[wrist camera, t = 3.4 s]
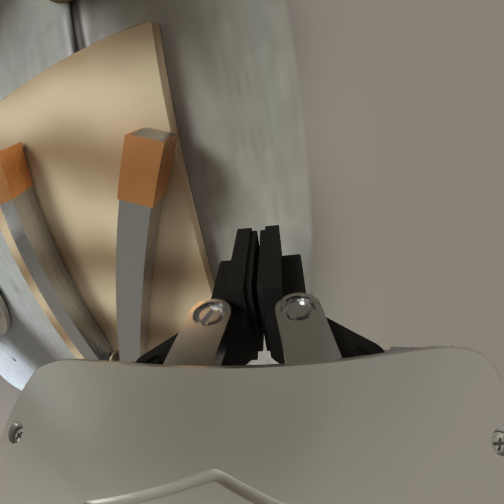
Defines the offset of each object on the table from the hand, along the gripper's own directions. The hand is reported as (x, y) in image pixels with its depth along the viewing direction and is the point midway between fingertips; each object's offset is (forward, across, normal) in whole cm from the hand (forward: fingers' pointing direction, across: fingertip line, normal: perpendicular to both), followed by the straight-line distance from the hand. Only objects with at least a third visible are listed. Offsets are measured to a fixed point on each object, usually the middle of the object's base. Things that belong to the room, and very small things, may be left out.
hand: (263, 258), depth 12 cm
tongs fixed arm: (+3, +14, +1) cm, 15 cm away
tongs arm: (+3, +9, +3) cm, 10 cm away
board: (+4, +12, +2) cm, 13 cm away
